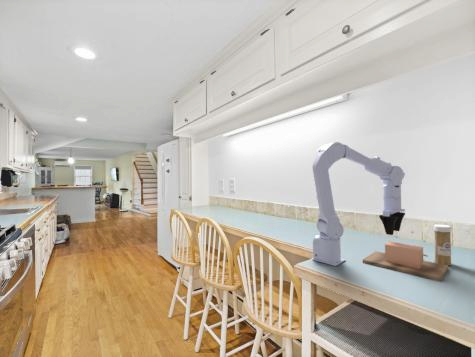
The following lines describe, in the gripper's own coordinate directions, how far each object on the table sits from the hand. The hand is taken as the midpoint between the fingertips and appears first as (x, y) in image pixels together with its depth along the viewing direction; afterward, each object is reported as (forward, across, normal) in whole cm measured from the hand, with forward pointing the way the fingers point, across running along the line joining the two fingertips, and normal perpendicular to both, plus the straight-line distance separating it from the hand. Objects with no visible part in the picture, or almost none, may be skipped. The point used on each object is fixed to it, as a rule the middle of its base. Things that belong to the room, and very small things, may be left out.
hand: (392, 232), depth 91 cm
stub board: (+9, -7, -5) cm, 13 cm away
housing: (+8, -7, -5) cm, 12 cm away
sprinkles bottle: (+10, +4, -14) cm, 17 cm away
